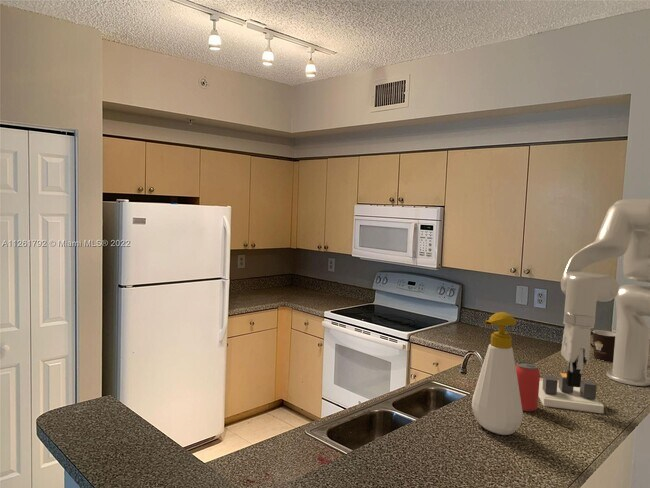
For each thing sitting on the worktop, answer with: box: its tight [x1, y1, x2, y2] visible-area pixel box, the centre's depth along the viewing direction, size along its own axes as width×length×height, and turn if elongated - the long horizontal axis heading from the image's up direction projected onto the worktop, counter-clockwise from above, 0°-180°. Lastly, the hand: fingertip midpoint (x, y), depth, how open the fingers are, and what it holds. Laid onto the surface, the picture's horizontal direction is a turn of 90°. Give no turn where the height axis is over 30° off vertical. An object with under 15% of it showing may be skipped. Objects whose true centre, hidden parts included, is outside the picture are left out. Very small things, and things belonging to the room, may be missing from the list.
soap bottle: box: [471, 311, 524, 436], centre depth 115 cm, size 13×10×29 cm
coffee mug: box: [590, 329, 616, 362], centre depth 181 cm, size 12×9×10 cm
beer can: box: [515, 361, 541, 412], centre depth 131 cm, size 7×7×12 cm
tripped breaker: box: [558, 372, 573, 393], centre depth 139 cm, size 4×3×4 cm
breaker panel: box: [538, 374, 605, 414], centre depth 139 cm, size 18×15×6 cm
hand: (573, 385), depth 131 cm, fingers closed
